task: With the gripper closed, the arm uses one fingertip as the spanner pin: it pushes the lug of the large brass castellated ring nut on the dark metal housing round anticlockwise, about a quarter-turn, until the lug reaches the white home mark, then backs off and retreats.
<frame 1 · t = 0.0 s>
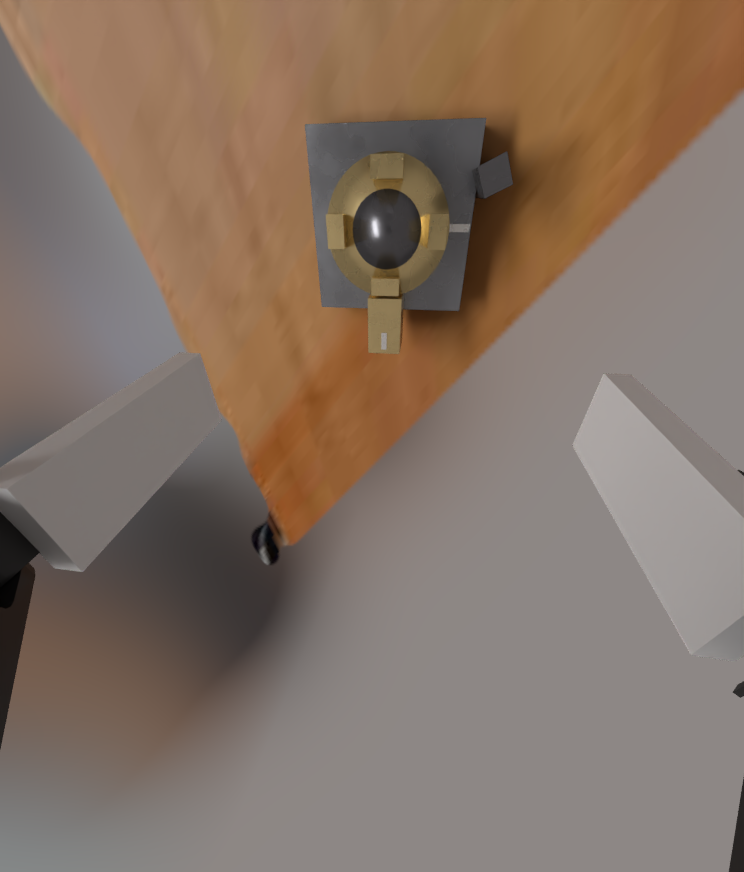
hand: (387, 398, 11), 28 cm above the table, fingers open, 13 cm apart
housing: (393, 225, 32), on the table
ring nut: (387, 263, 29), point 5 cm above the table, hinge at 0.0°
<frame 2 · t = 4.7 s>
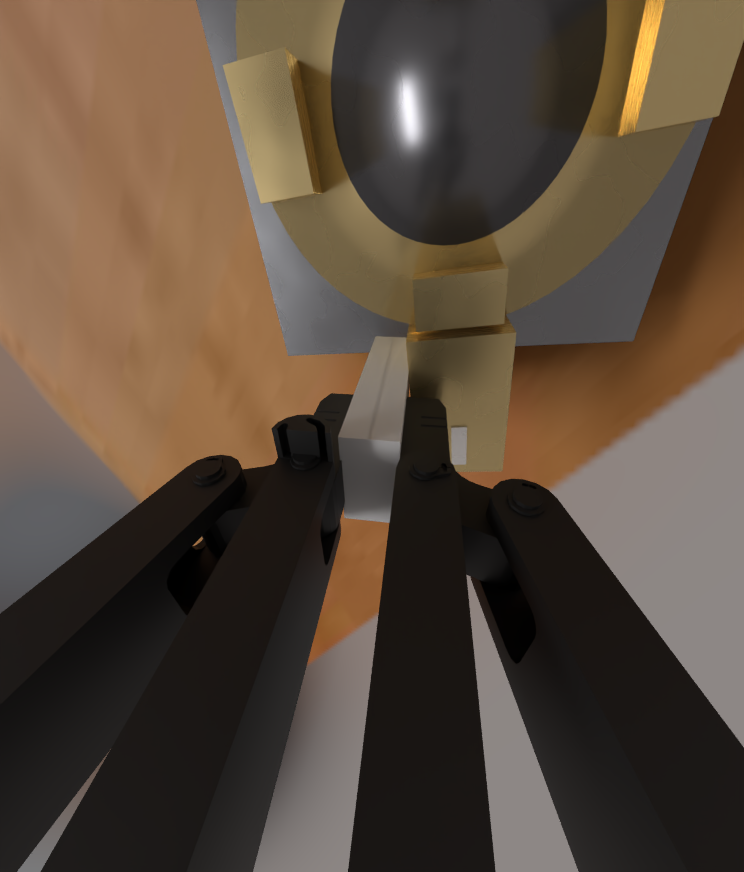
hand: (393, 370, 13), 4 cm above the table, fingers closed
housing: (447, 136, 12), on the table
ring nut: (455, 227, 9), point 5 cm above the table, hinge at 2.5°, touching gripper
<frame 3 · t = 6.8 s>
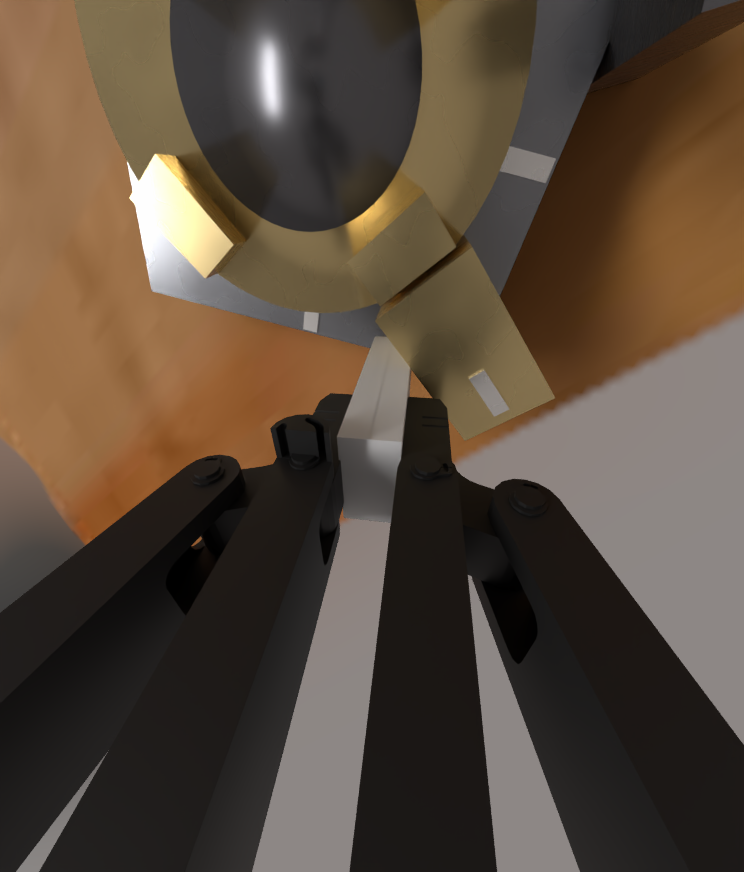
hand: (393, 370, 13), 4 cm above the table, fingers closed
housing: (350, 126, 13), on the table
ring nut: (371, 193, 9), point 5 cm above the table, hinge at 50.6°, touching gripper
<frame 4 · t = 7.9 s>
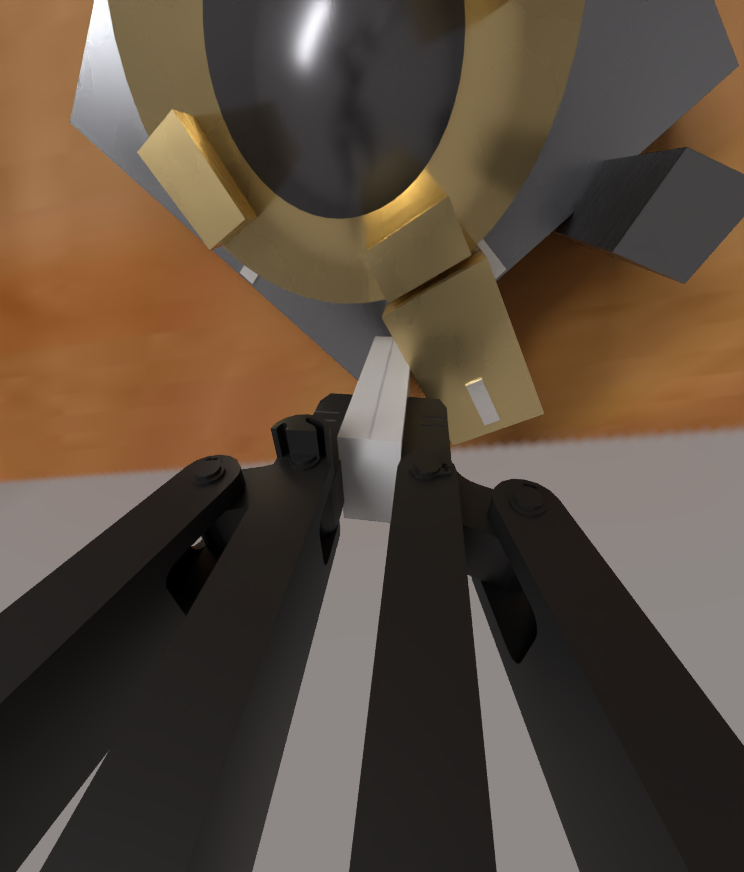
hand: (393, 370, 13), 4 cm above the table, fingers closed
housing: (372, 115, 12), on the table
ring nut: (391, 187, 9), point 5 cm above the table, hinge at 74.0°, touching gripper
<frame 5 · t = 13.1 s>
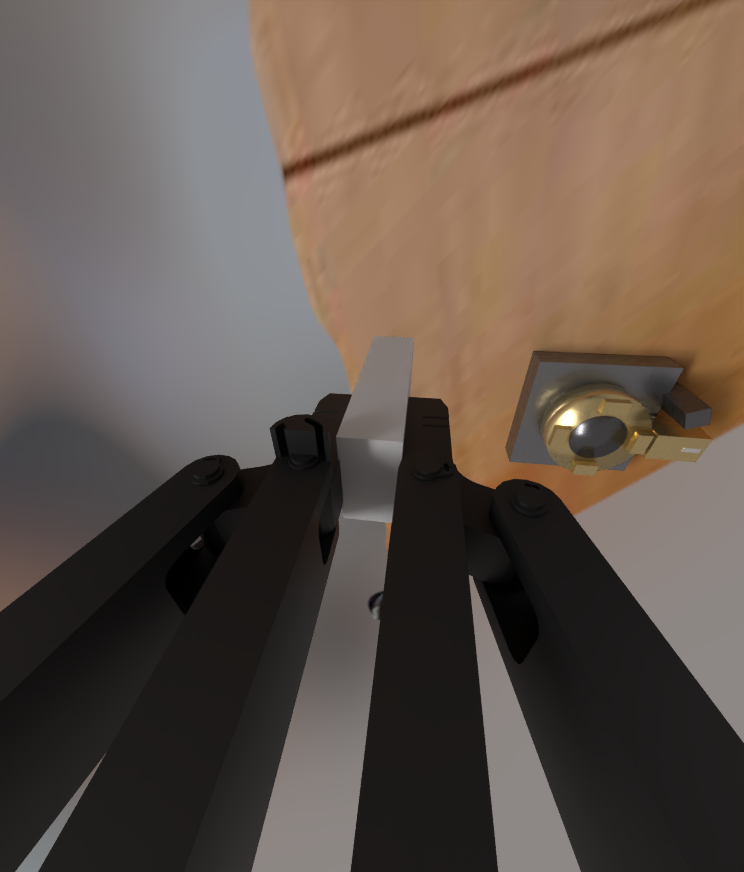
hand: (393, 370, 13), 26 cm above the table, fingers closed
housing: (576, 407, 41), on the table
ring nut: (617, 434, 37), point 5 cm above the table, hinge at 89.4°
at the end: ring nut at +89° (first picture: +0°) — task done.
